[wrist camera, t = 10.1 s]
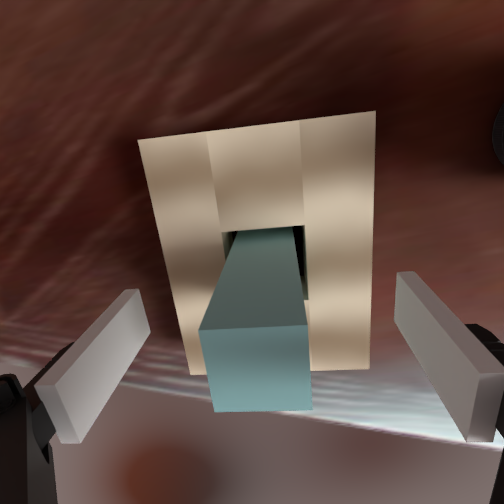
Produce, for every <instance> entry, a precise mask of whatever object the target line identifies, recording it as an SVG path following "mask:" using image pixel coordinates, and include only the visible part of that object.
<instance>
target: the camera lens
mask: <svg viewBox="0 0 504 504" xmlns="http://www.w3.org/2000/svg"><path fill="white" fill-rule="evenodd" d="M492 141H493V147H494V151H495V153H496V155H497V157H498V159H499V160H500V162H501V163H502V164H503V165H504V103H503V104H502V106H501V108H500V110H499V112H498V114H497V116H496V119H495V122H494V126H493V133H492Z"/></svg>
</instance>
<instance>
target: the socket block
mask: <svg viewBox="0 0 504 504" xmlns="http://www.w3.org/2000/svg"><path fill="white" fill-rule="evenodd" d="M375 128H376V111H370V112H362V113H354V114H346V115H337V116H329V117H321V118H313V119H305V120H297V121H288V122H280V123H272V124H264V125H256V126H248V127H240V128H231V129H223V130H215V131H207V132H199V133H191V134H183V135H174V136H166V137H158V138H150V139H142V140H138V144H139V148H140V153H141V157H142V162H143V166H144V170H145V175H146V179H147V184H148V188H149V192H150V197H151V201H152V206H153V210H154V215H155V219H156V223H157V228H158V232H159V237H160V241H161V246H162V250H163V254H164V259H165V263H166V268H167V272H168V276H169V281H170V285H171V290H172V294H173V299H174V303H175V307H176V312H177V316H178V321H179V325H180V330H181V334H182V338H183V343H184V347H185V352H186V356H187V361H188V365H189V369H190V374H191V375H201V374H207V372H206V367H205V362H204V358H203V353H202V348H201V343H200V338H199V333H198V329H199V327H200V324H201V322H202V319H203V317H204V314H205V312H206V309H207V307H208V305H209V302H210V300H211V297H212V295H213V292H214V290H215V287H216V285H217V282H218V280H219V277H220V275H221V272H222V270H223V267H224V265H225V262H226V260H227V257H228V255H229V252H230V250H231V248H232V245H233V237H232V231H241V230H252V229H264V228H276V227H287V226H299V225H301V228H302V246H303V263H304V276H300V279H301V285H302V292H303V298H304V304H305V311H306V317H307V323H308V338H309V356H310V371H321V370H350V369H369V358H370V320H371V281H372V243H373V205H374V166H375Z"/></svg>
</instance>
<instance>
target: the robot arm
mask: <svg viewBox="0 0 504 504" xmlns="http://www.w3.org/2000/svg"><path fill="white" fill-rule="evenodd" d="M394 322H395V323H396V325H397V327H398V328H399V330H400V332H401V333H402V335H403V337H404V338H405V340H406V342H407V343H408V345H409V347H410V348H411V350H412V352H413V353H414V355H415V357H416V358H417V360H418V362H419V363H420V365H421V367H422V368H423V370H424V372H425V373H426V375H427V377H428V378H429V380H430V382H431V383H432V385H433V387H434V388H435V390H436V392H437V393H438V395H439V397H440V399H441V400H442V402H443V404H444V405H445V407H446V409H447V410H448V412H449V414H450V415H451V417H452V419H453V420H454V422H455V424H456V425H457V427H458V429H459V430H460V432H461V434H462V435H463V437H464V439H465V440H466V442H493V440H494V435H495V431H496V428H497V430H498V431H499V432H500V434H501V435H502V436H503V438H504V344H503V343H501V341H500V340H499V339H498V338H497V337H496V336H495V335H494V334H493V333H491V332H490V331H488V330H487V329H485V328H483V327H481V326H479V325H478V324H463V323H462V322H461V321H460V320H459V319H458V318H457V316H456V315H455V314H454V313H453V312H452V311H451V310H450V309H449V308H448V307H447V306H446V305H445V304H444V303H443V302H442V301H441V300H440V298H439V297H438V296H437V295H436V294H435V293H434V292H433V291H432V290H431V289H430V288H429V287H428V286H427V285H426V284H425V283H424V281H423V280H422V279H421V278H420V277H419V276H418V275H417V274H416V273H415V272H414V271H410V272H397V282H396V297H395V313H394ZM149 334H150V328H149V324H148V321H147V317H146V313H145V310H144V306H143V303H142V299H141V295H140V292H139V289H128V290H124V291H123V292H122V293H121V294H120V296H119V297H118V298H117V299H116V300H115V301H114V302H113V303H112V304H111V305H110V306H109V307H108V308H107V309H106V310H105V311H104V312H103V313H102V314H101V316H100V317H99V318H98V319H97V320H96V321H95V322H94V323H93V324H92V325H91V326H90V327H89V328H88V329H87V330H86V331H85V332H84V333H83V334H82V335H81V337H80V338H79V339H78V340H77V341H76V342H72V343H71V344H69V345H68V346H66V347H65V348H63V349H62V350H60V351H59V352H58V353H57V354H56V355H55V356H54V357H53V358H52V361H50V362H49V363H48V364H47V365H46V366H45V368H43V369H42V370H41V371H40V372H39V373H38V374H37V375H36V376H35V377H34V378H33V379H32V380H31V381H30V382H29V383H28V384H27V385H26V386H25V387H24V388H23V389H22V387H21V385H20V383H19V381H18V379H17V377H16V375H14V374H3V375H0V504H58V503H57V493H56V482H55V473H54V462H53V452H52V447H51V445H50V443H49V440H50V439H51V438H52V436H53V435H54V434H55V432H56V433H57V435H58V437H59V439H60V441H61V443H81V442H82V440H83V439H84V437H85V436H86V434H87V433H88V431H89V429H90V428H91V426H92V424H93V423H94V421H95V420H96V418H97V417H98V415H99V413H100V412H101V410H102V409H103V407H104V405H105V404H106V402H107V401H108V399H109V398H110V396H111V394H112V393H113V391H114V389H115V388H116V386H117V385H118V383H119V382H120V380H121V378H122V377H123V375H124V374H125V372H126V370H127V369H128V367H129V366H130V364H131V363H132V361H133V359H134V358H135V356H136V355H137V353H138V351H139V350H140V348H141V347H142V345H143V343H144V342H145V340H146V339H147V337H148V335H149ZM489 504H504V448H503V452H502V456H501V460H500V463H499V468H498V471H497V475H496V479H495V483H494V487H493V491H492V495H491V499H490V503H489Z"/></svg>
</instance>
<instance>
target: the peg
mask: <svg viewBox="0 0 504 504" xmlns="http://www.w3.org/2000/svg"><path fill="white" fill-rule="evenodd" d="M198 333H199V338H200V343H201V348H202V353H203V358H204V362H205V367H206V372H207V377H208V382H209V387H210V392H211V397H212V402H213V406H214V411H215V412H242V411H243V412H245V411H296V410H313V408H312V391H311V373H310V356H309V338H308V323H307V317H306V311H305V304H304V298H303V292H302V285H301V279H300V273H299V267H298V260H297V254H296V248H295V241H294V235H293V229H292V226H287V227H276V228H264V229H252V230H241V231H238V233H237V235H236V238H235V240H234V243H233V245H232V248H231V250H230V252H229V255H228V257H227V260H226V262H225V265H224V267H223V270H222V272H221V275H220V277H219V280H218V282H217V285H216V287H215V290H214V292H213V295H212V297H211V300H210V302H209V305H208V307H207V309H206V312H205V314H204V317H203V319H202V322H201V324H200V327H199V329H198Z"/></svg>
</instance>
